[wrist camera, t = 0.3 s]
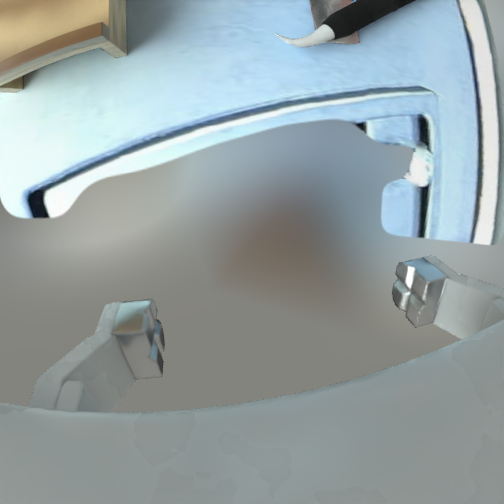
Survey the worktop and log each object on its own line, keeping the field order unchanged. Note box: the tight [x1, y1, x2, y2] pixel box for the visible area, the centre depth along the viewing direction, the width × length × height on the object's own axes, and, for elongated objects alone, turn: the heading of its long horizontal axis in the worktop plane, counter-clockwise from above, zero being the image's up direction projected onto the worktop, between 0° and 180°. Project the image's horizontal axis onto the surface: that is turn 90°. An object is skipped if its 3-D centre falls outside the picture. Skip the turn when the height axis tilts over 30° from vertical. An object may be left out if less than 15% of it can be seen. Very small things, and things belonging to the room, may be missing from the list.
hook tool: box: [275, 0, 415, 47], centre depth 21 cm, size 22×4×3 cm, turn 129°
